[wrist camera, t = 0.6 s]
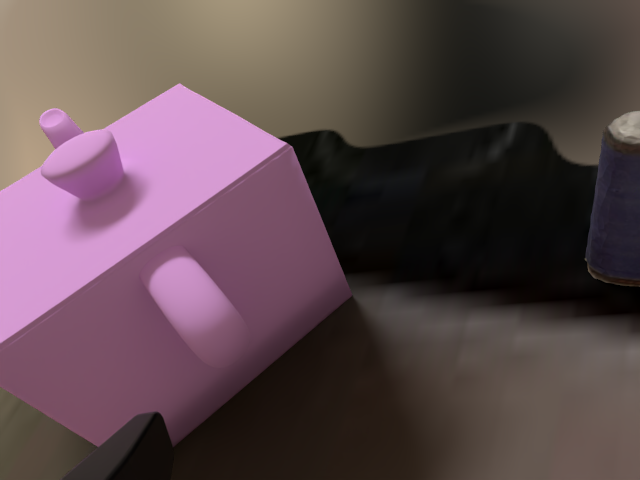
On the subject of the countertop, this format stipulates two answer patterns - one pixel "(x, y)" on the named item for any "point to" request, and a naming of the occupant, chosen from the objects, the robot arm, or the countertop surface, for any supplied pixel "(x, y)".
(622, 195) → the flask
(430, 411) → the countertop surface
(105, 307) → the teapot
